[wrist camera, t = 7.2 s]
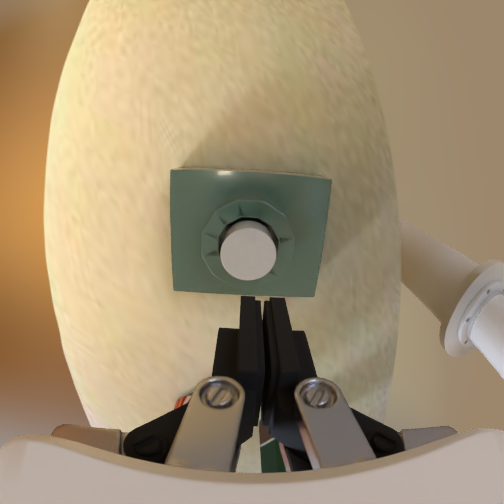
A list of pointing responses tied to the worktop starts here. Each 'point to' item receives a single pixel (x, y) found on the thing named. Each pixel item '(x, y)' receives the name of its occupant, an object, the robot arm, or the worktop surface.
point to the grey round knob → (248, 250)
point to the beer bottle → (270, 452)
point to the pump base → (243, 209)
